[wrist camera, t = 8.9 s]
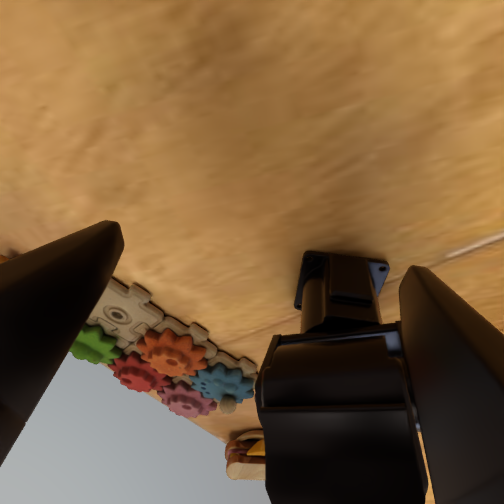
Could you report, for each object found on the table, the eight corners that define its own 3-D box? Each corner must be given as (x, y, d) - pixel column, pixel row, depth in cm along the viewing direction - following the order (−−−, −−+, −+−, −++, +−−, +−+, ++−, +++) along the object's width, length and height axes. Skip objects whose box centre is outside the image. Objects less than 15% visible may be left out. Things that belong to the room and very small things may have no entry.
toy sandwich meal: (298, 466, 54) (297, 500, 50) (223, 446, 54) (216, 479, 50) (325, 441, 46) (325, 479, 42) (235, 417, 45) (228, 454, 42)
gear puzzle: (-21, 286, 35) (-55, 314, 32) (17, 201, 26) (-24, 229, 23) (196, 407, 45) (187, 437, 42) (276, 376, 37) (272, 411, 34)
